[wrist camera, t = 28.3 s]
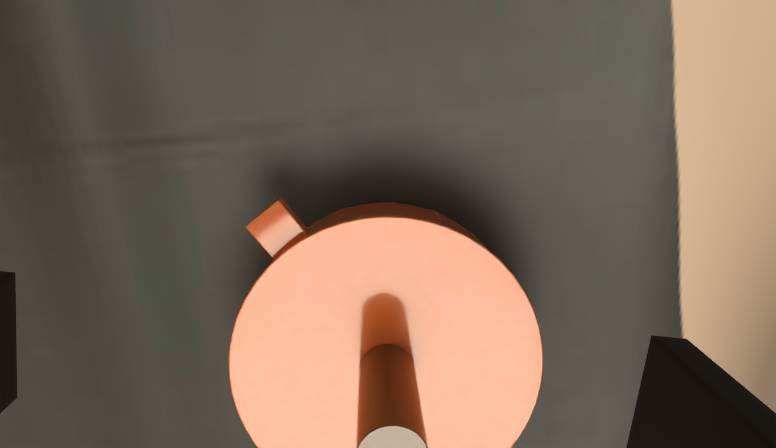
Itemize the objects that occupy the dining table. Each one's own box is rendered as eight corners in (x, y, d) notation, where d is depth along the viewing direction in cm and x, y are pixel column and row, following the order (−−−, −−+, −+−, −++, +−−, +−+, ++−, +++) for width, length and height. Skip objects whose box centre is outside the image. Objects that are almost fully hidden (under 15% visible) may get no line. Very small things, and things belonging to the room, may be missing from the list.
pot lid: (413, 146, 34) (429, 173, 25) (596, 380, 38) (672, 482, 28) (168, 340, 36) (97, 433, 27) (363, 545, 40) (361, 691, 30)
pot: (379, 112, 38) (381, 118, 33) (585, 374, 43) (615, 415, 38) (173, 278, 40) (144, 308, 35) (390, 513, 45) (392, 570, 40)
